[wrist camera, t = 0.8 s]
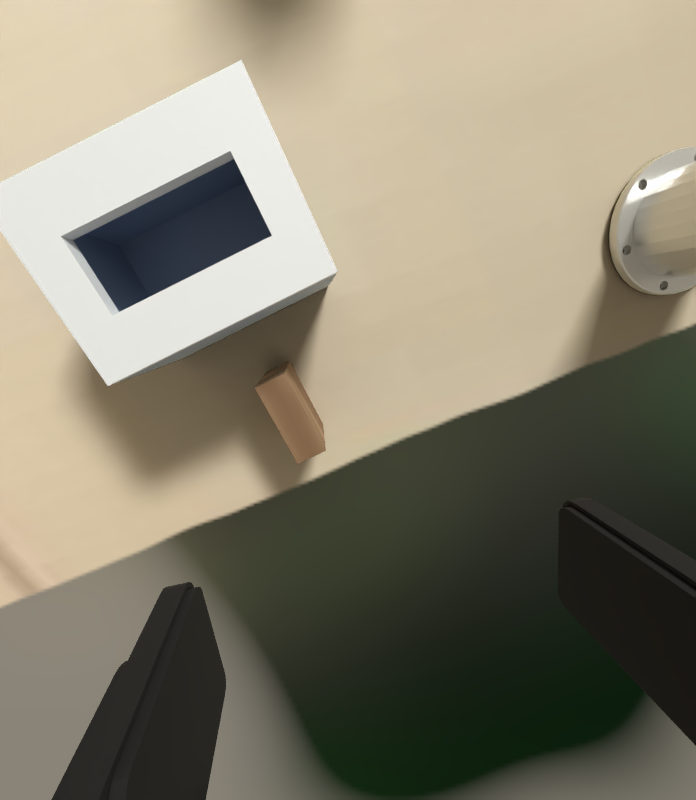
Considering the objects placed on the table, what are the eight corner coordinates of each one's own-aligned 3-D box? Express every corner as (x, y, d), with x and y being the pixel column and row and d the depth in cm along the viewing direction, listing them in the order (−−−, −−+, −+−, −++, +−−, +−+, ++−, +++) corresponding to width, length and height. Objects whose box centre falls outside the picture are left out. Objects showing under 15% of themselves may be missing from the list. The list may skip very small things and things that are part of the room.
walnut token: (289, 361, 33) (284, 373, 27) (322, 424, 35) (325, 450, 28) (265, 372, 33) (254, 388, 27) (300, 435, 35) (297, 464, 28)
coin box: (268, 160, 29) (241, 59, 18) (327, 286, 32) (337, 271, 20) (107, 241, 29) (-25, 194, 18) (180, 359, 32) (107, 386, 21)
